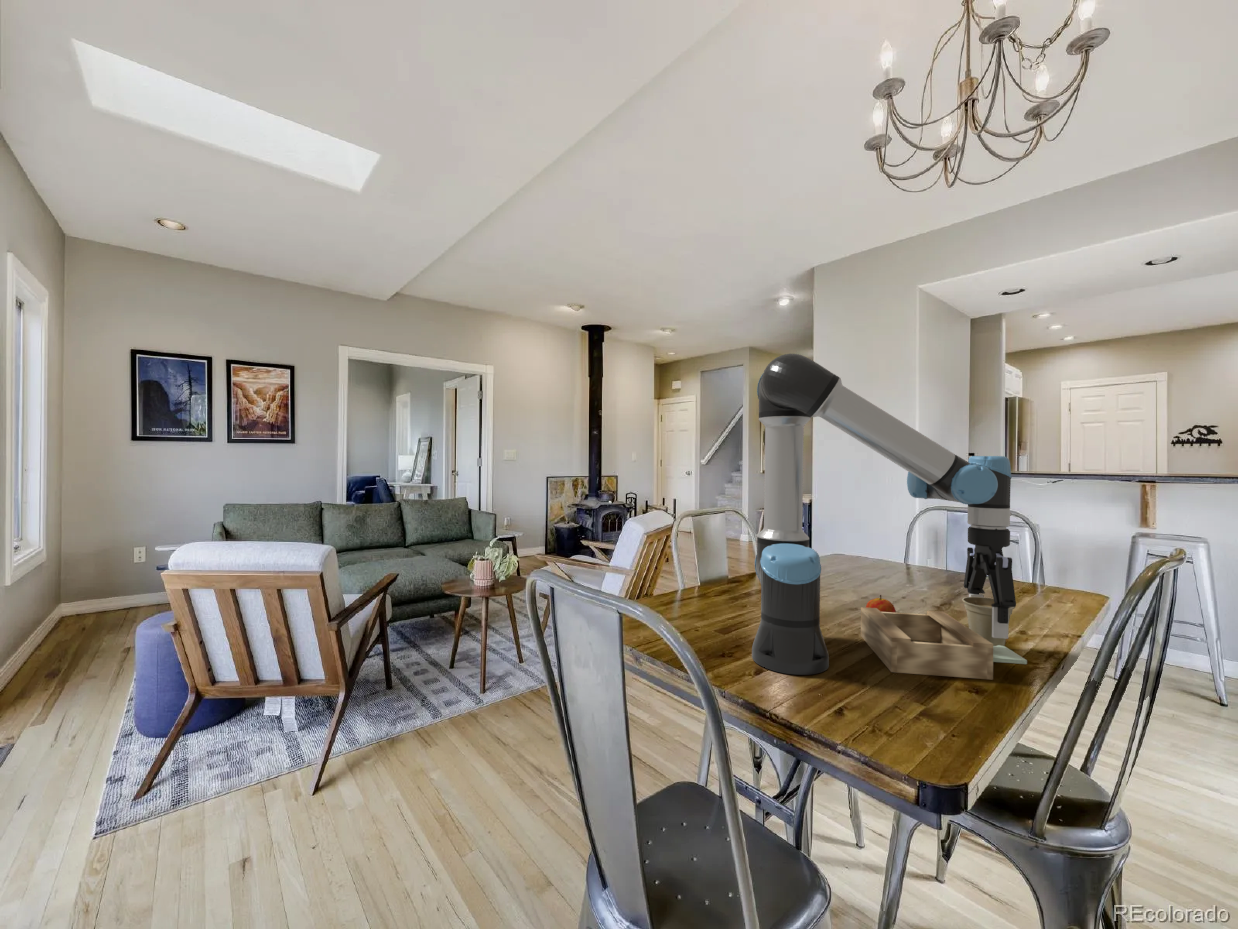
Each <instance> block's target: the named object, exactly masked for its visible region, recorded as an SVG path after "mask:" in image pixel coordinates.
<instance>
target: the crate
mask: <svg viewBox="0 0 1238 929" xmlns="http://www.w3.org/2000/svg"><path fill="white" fill-rule="evenodd" d="M860 637H861V638H862V639H863V640H864V641H865V643H866V644H867V645H868V646H869V647H870V649H871V650H872V651H873V653H875V655H876V656H877V657H878V658H879V659H880V660H881V662H882V663H883V664H884V665H885V667H887V669H888V671H890V672H891V673H898V674H911V675H913V674H914V675H926V676H937V677H938V676H940V677H941V676H942V677H951V678H952V677H954V678H964V679H965V678H966V679H978V680H979V679H981V680H992V681H993V680H994V662H993V644H992V643H991V642H989V641H988V640H986V639H985V638H983V637H982V636H980V635H979V634H977V633H975V632H974V631H972V630H971V629H969V626H967V625H964V624H963V623H962V622H960V621H958V619H955V618H954V617H953V616H951V615H950V614H948V613H946V612H945V611H935V610H927V611H926V613H912V612H910V613H909V612H896V613H895V612H880V611H879V610H878V609H877V608H866V606H865V607H860Z"/></svg>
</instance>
